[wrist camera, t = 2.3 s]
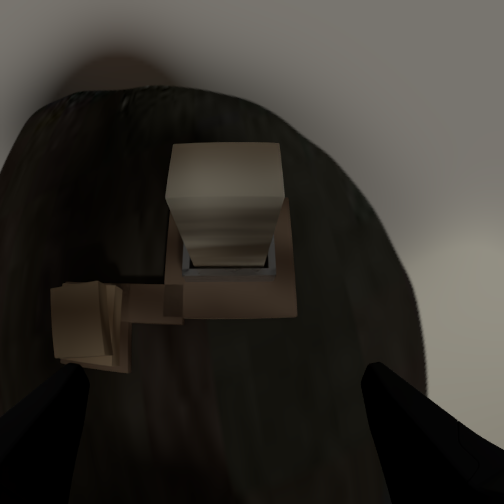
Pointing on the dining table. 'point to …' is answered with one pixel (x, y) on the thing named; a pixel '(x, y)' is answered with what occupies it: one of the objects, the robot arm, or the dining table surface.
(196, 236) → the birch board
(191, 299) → the rack
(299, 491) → the dining table surface
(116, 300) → the lower offcut
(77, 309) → the upper offcut
